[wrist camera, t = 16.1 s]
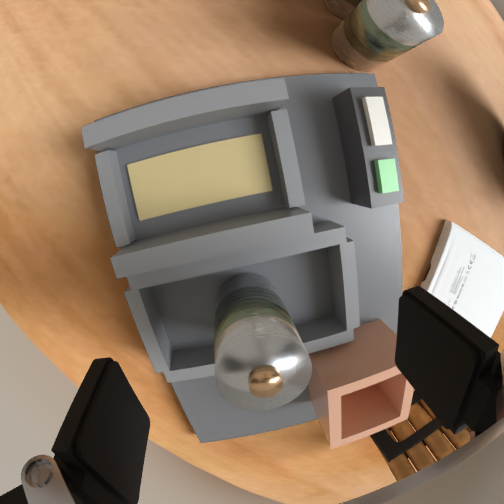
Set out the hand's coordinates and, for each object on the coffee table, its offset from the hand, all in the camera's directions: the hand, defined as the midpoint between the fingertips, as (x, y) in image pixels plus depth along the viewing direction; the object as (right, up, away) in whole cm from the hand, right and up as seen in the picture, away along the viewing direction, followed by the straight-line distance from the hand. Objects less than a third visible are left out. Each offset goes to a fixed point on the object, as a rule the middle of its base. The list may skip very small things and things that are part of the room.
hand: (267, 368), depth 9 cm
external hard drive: (+18, +1, +12) cm, 21 cm away
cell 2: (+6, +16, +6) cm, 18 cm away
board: (+1, +2, +9) cm, 9 cm away
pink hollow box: (+6, -4, +10) cm, 12 cm away
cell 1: (-1, +1, +8) cm, 8 cm away
